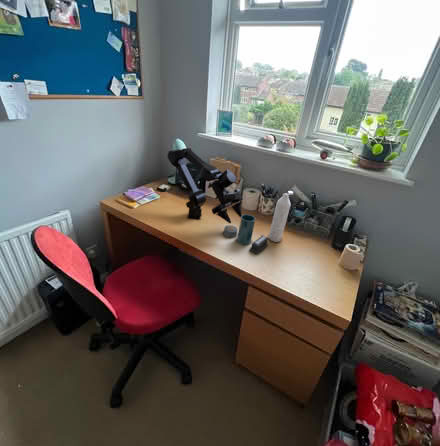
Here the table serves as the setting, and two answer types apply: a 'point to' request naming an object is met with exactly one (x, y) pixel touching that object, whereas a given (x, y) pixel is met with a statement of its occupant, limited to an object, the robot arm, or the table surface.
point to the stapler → (259, 244)
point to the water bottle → (280, 217)
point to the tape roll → (230, 231)
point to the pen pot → (246, 229)
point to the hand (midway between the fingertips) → (235, 219)
